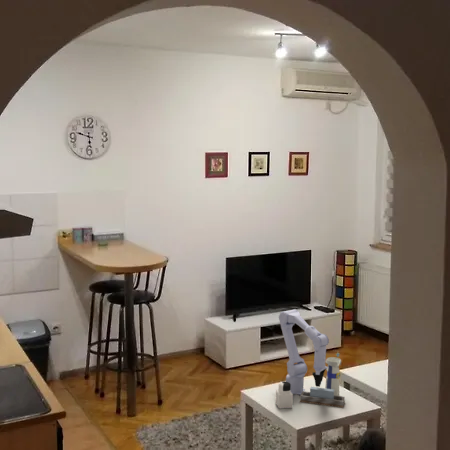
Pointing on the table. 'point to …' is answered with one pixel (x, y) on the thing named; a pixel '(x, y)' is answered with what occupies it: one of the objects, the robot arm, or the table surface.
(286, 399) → the medicine bottle
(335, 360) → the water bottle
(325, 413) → the table surface
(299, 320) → the robot arm
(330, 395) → the grey-blue rectangular block
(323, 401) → the track board
